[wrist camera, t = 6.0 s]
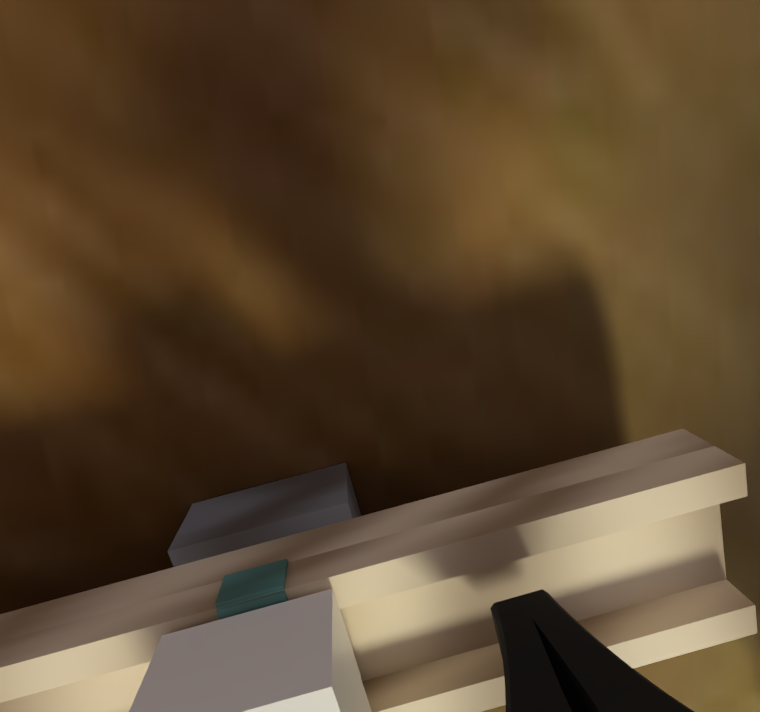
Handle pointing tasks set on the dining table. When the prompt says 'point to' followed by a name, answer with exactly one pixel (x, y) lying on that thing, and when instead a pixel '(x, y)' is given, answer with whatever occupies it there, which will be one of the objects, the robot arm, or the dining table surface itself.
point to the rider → (258, 663)
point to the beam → (416, 577)
